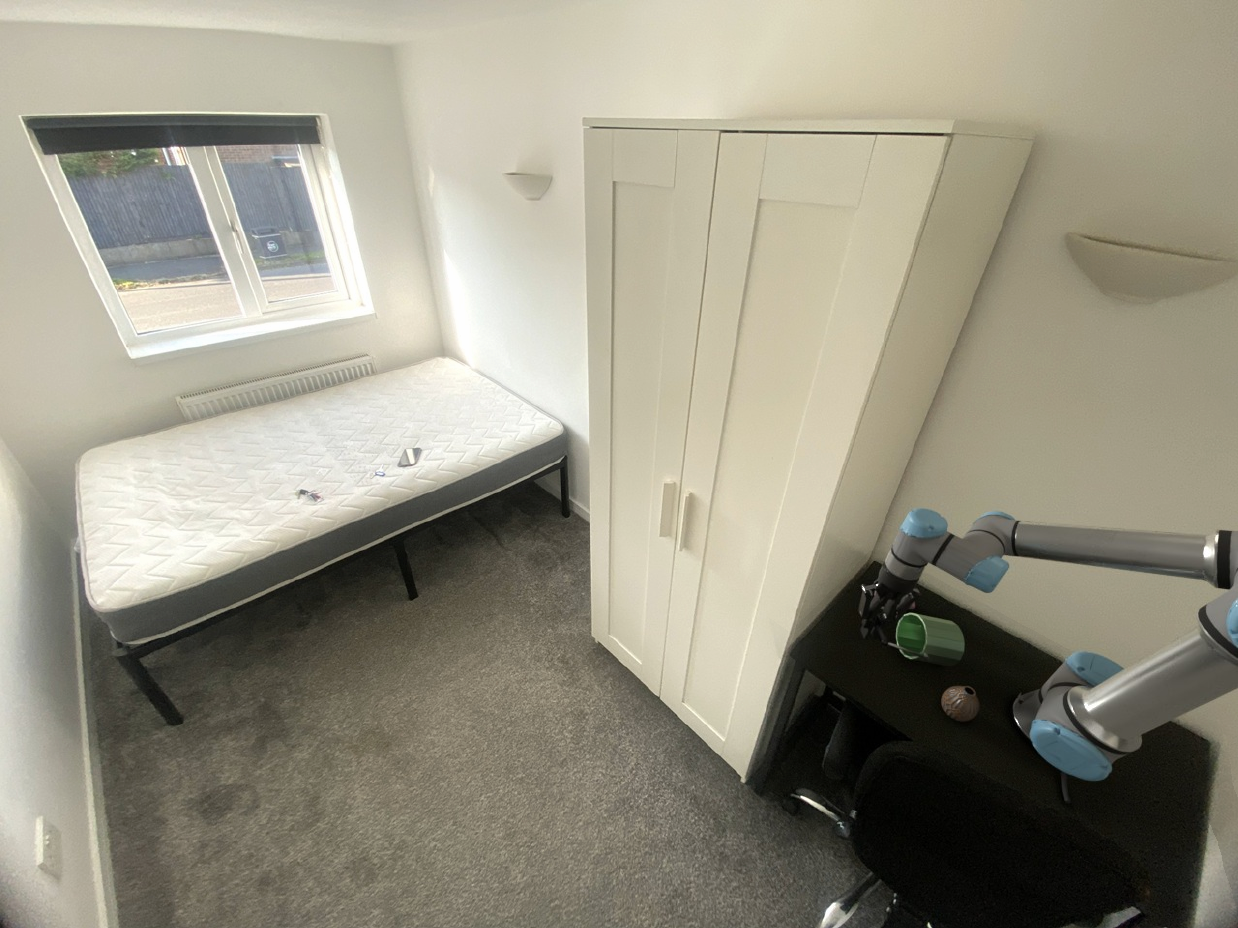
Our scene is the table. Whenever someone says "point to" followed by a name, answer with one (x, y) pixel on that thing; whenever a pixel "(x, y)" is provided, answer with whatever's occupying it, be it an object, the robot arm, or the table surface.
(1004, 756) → the table surface
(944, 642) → the bucket
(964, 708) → the vase
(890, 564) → the robot arm
